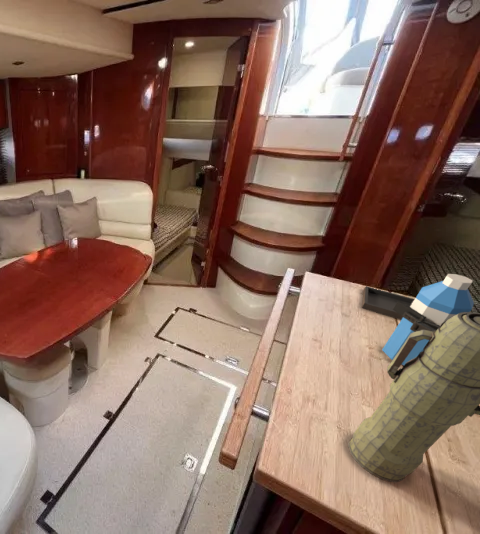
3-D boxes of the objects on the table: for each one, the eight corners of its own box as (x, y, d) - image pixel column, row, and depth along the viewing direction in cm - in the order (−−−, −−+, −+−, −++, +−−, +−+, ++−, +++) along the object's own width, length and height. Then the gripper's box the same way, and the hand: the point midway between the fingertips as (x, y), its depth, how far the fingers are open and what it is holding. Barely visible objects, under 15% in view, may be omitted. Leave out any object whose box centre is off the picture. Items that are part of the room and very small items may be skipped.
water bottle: (378, 339, 88) (425, 264, 75) (422, 351, 84) (479, 274, 71) (385, 361, 81) (438, 282, 69) (434, 374, 77) (499, 294, 64)
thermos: (339, 424, 67) (427, 293, 49) (413, 459, 60) (545, 323, 43) (336, 456, 61) (435, 322, 43) (418, 499, 54) (573, 361, 37)
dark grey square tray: (413, 304, 102) (416, 299, 101) (416, 324, 94) (419, 319, 93) (363, 290, 110) (365, 285, 109) (361, 308, 101) (364, 303, 100)
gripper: (461, 388, 62) (367, 317, 81) (566, 384, 62) (447, 314, 81) (485, 362, 58) (380, 294, 77) (597, 357, 58) (464, 291, 78)
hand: (415, 304), depth 79 cm, fingers closed on water bottle, 9 cm apart
